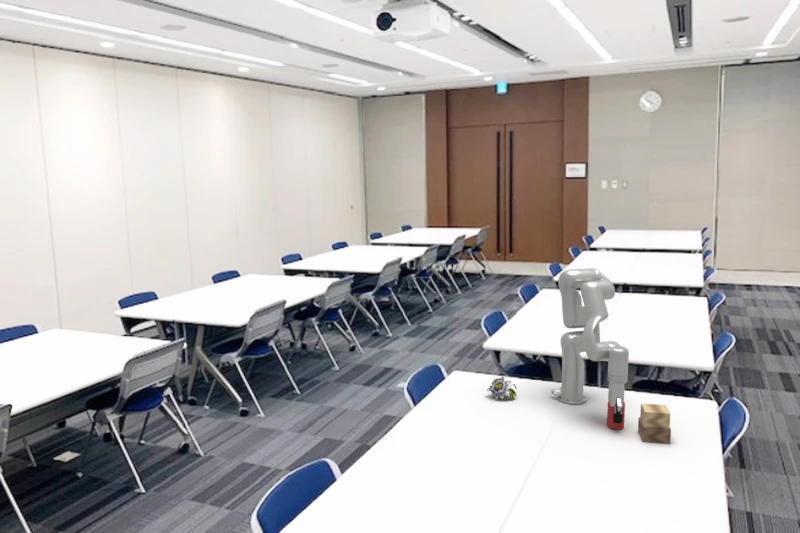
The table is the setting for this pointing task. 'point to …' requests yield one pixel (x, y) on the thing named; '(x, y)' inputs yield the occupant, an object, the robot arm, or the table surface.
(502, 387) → the passion flower
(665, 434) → the walnut block
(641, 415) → the oak block
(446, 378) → the table surface
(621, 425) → the beer can
